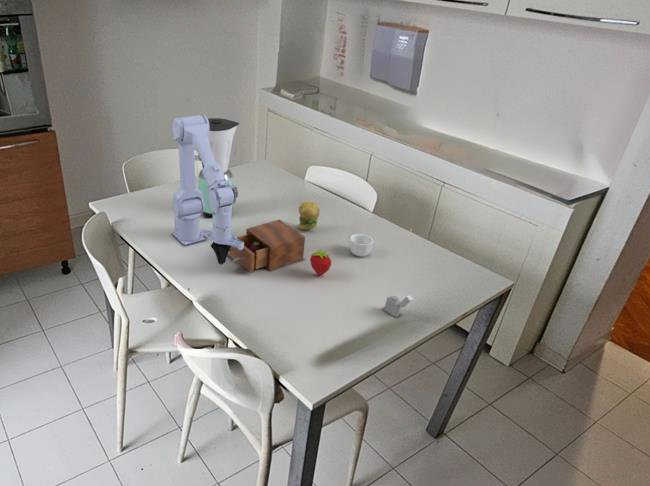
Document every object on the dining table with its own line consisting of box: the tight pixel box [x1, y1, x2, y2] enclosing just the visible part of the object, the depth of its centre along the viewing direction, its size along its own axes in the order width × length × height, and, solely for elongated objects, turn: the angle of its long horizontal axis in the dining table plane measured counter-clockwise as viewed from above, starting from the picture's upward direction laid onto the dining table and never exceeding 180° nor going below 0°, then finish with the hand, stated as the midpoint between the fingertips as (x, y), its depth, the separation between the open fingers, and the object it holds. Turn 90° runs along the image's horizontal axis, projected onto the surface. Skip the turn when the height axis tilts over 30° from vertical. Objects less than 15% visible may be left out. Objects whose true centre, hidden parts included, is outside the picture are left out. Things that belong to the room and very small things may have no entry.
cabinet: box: [245, 219, 306, 271], centre depth 174 cm, size 14×14×9 cm
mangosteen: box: [249, 242, 263, 258], centre depth 170 cm, size 4×4×5 cm
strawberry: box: [309, 249, 332, 277], centre depth 163 cm, size 6×8×10 cm
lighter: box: [383, 294, 414, 318], centre depth 148 cm, size 7×2×8 cm, turn 39°
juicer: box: [194, 117, 240, 218], centre depth 193 cm, size 19×13×35 cm
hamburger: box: [297, 201, 321, 231], centre depth 188 cm, size 8×7×12 cm
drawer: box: [226, 233, 270, 274], centre depth 169 cm, size 17×13×7 cm
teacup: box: [346, 233, 374, 258], centre depth 178 cm, size 10×8×5 cm
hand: (221, 262), depth 165 cm, fingers closed
